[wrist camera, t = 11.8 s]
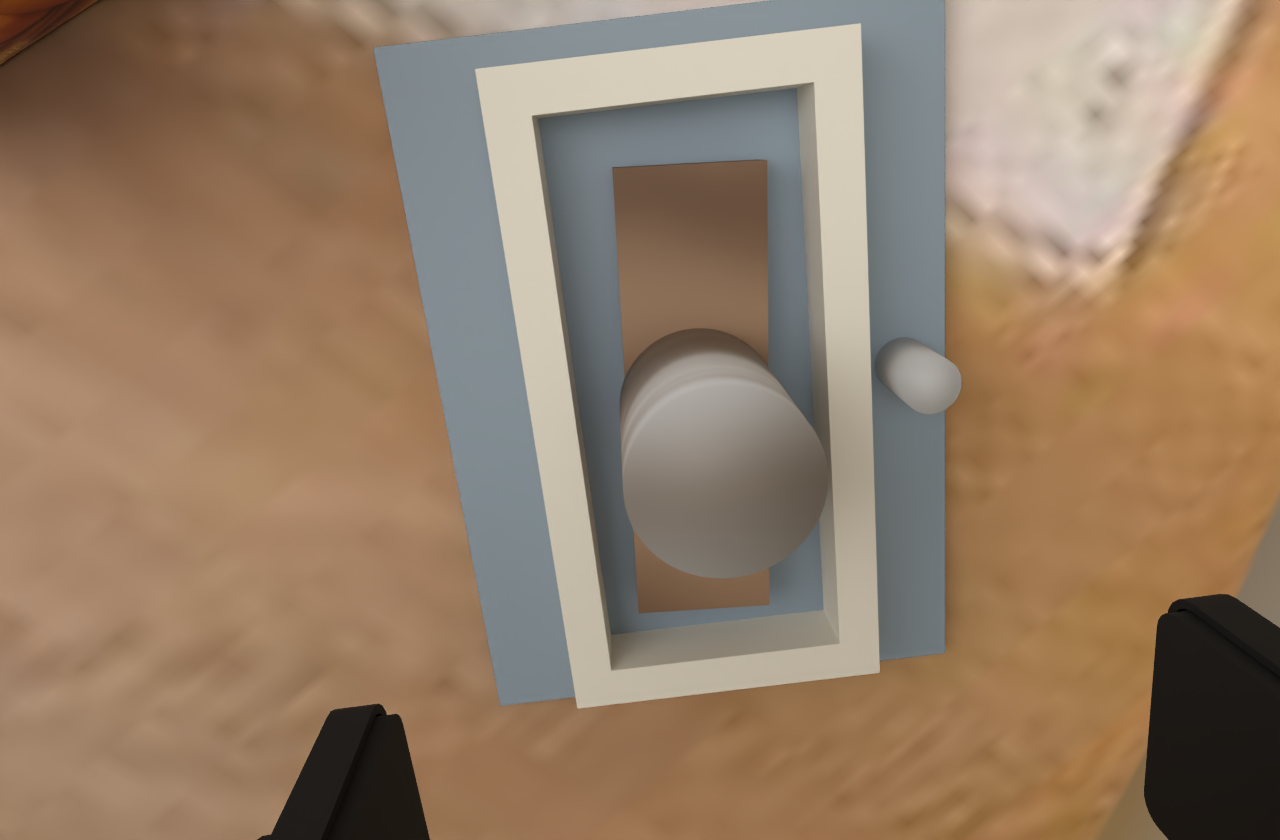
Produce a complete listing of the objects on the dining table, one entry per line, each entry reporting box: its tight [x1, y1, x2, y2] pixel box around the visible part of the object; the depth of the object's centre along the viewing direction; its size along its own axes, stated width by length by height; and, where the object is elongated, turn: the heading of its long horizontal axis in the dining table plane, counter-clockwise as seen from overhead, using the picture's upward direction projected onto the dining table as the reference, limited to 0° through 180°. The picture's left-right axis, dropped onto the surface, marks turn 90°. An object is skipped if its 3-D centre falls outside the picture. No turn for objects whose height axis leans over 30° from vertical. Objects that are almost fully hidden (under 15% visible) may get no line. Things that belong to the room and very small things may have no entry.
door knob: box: [612, 159, 829, 613], centre depth 22 cm, size 13×4×8 cm, turn 3°
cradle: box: [373, 0, 962, 709], centre depth 24 cm, size 15×20×3 cm
